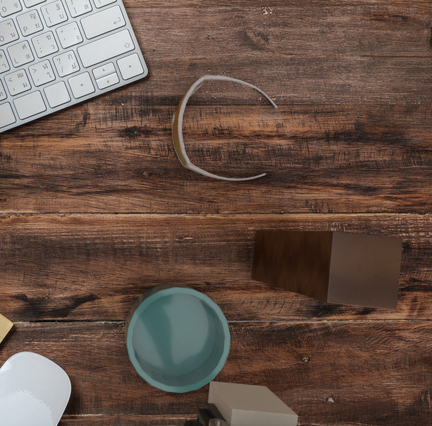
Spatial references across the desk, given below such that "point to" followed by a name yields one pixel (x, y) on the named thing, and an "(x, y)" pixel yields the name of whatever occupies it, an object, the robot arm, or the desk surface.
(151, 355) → the bowl
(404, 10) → the desk surface
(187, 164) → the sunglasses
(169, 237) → the desk surface
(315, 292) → the block
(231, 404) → the block
